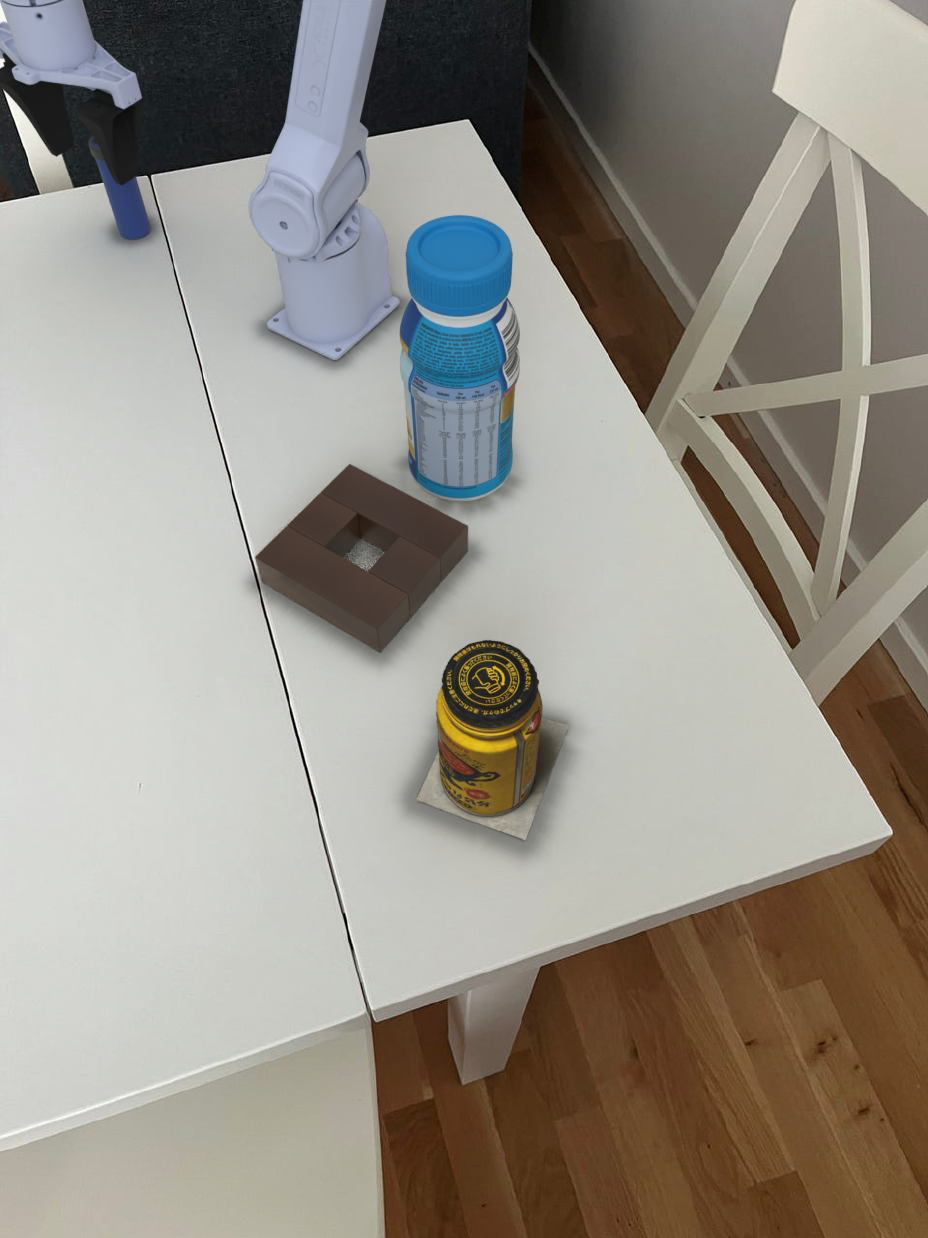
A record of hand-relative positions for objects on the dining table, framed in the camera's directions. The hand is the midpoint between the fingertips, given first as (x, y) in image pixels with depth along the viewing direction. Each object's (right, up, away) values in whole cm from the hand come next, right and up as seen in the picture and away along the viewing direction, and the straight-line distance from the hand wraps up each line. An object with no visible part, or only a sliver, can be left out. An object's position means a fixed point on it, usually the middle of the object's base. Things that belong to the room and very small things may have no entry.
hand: (94, 164), depth 83 cm
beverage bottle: (+31, -26, -5) cm, 41 cm away
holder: (+24, -35, -11) cm, 44 cm away
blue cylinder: (-1, -1, +12) cm, 12 cm away
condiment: (+33, -48, -20) cm, 62 cm away
